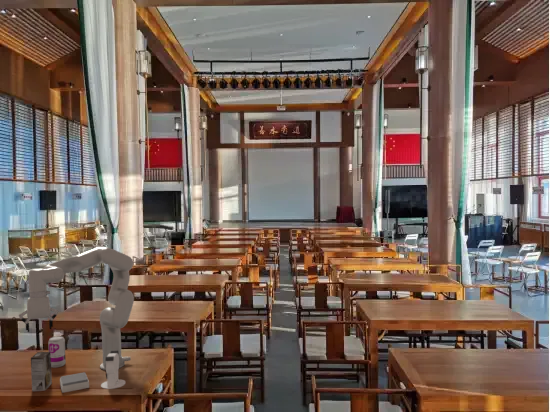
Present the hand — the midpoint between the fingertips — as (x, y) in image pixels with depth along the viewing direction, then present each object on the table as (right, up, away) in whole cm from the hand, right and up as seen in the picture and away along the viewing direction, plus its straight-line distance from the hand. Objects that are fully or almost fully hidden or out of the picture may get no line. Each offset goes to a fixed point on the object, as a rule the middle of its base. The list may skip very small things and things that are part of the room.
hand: (39, 329), depth 242 cm
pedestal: (+16, -28, +1) cm, 32 cm away
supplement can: (-5, -28, +32) cm, 43 cm away
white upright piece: (+35, -27, +3) cm, 44 cm away
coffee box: (+1, -28, +1) cm, 28 cm away
